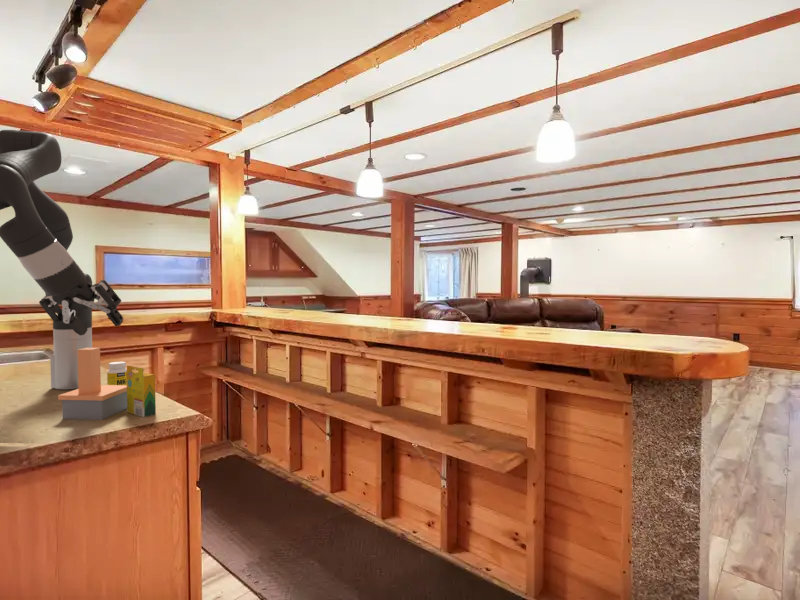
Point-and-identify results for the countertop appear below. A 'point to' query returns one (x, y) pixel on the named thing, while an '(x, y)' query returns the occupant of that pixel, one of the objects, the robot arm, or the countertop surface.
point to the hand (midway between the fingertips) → (102, 328)
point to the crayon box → (140, 392)
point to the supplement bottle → (117, 374)
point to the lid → (91, 379)
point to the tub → (94, 407)
